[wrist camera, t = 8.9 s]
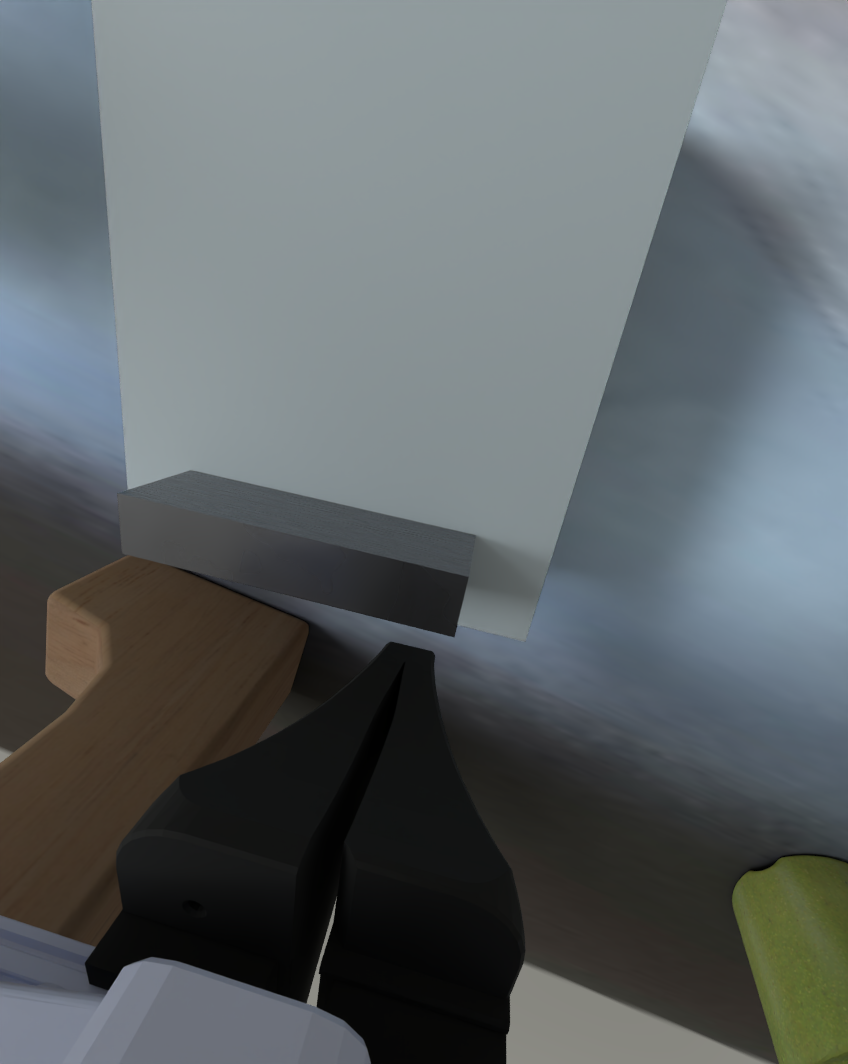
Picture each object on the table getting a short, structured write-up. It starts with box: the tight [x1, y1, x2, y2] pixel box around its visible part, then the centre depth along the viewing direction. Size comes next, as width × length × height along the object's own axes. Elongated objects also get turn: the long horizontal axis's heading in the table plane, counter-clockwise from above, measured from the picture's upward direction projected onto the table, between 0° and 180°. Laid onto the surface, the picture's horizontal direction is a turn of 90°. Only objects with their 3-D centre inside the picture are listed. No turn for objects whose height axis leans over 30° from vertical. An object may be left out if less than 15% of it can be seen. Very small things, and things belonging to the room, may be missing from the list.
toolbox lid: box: [91, 0, 727, 642], centre depth 9 cm, size 12×14×4 cm
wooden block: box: [0, 555, 309, 947], centre depth 13 cm, size 9×4×18 cm, turn 70°
